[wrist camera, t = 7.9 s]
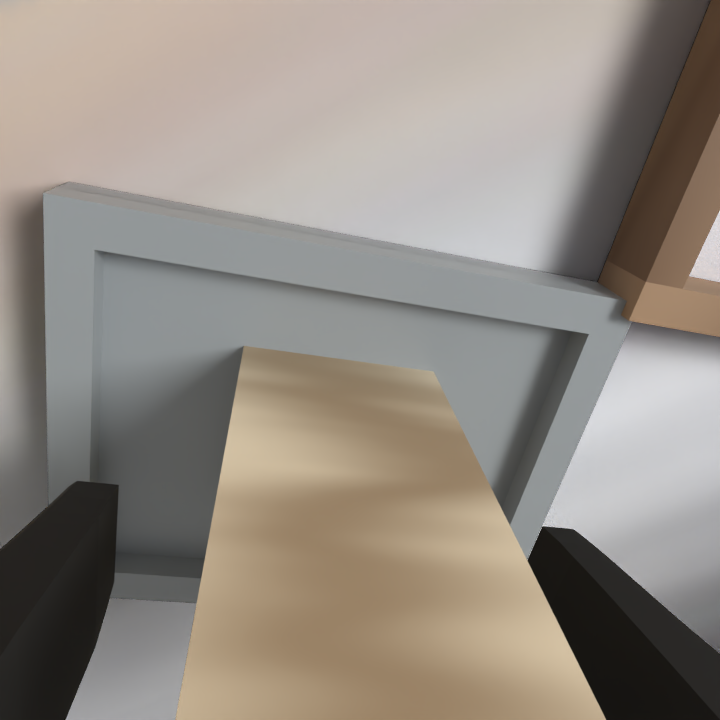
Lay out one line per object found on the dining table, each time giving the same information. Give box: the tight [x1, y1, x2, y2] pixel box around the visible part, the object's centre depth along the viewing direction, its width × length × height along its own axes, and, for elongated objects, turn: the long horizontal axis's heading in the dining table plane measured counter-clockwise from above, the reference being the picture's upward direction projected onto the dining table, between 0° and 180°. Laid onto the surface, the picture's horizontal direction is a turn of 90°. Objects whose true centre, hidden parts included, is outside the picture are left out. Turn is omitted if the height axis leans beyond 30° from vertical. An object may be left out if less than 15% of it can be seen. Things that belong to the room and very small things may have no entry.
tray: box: [43, 182, 632, 603], centre depth 13 cm, size 11×9×1 cm
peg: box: [175, 346, 606, 720], centre depth 9 cm, size 4×4×8 cm
